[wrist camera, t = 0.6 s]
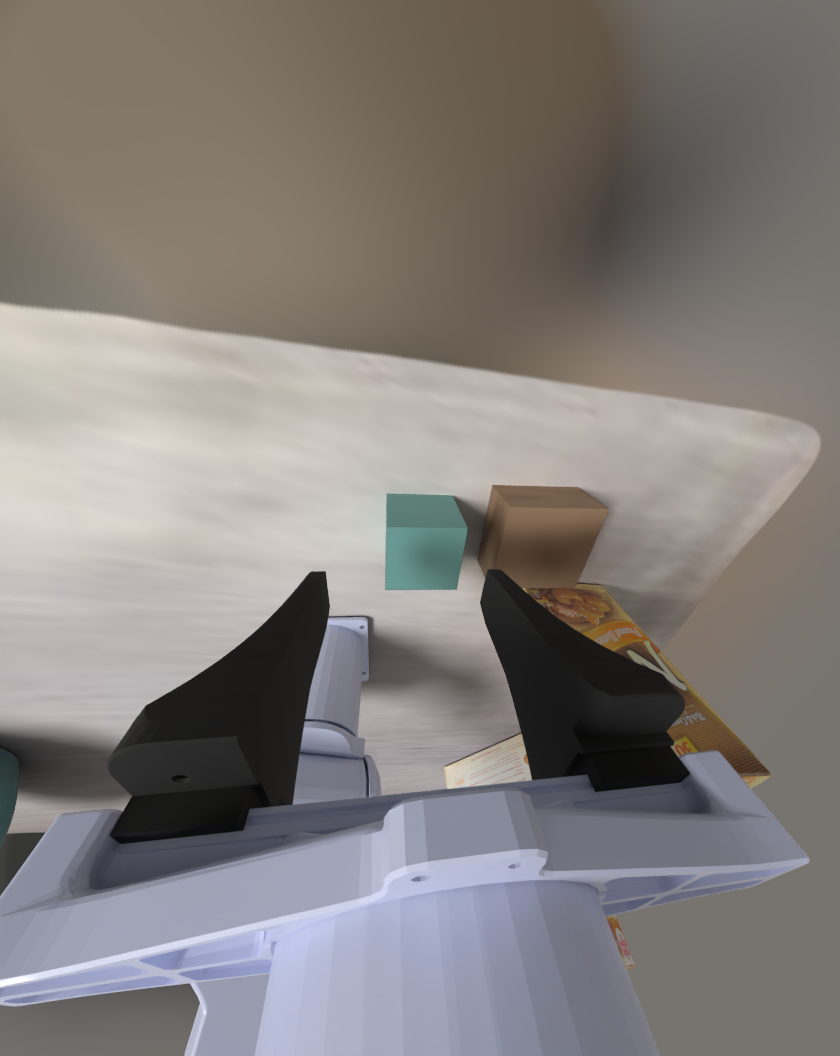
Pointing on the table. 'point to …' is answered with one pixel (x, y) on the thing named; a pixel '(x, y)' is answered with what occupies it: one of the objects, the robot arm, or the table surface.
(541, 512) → the block
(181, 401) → the table surface
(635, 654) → the candy box
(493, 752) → the coffeecake box
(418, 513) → the teal cube
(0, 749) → the green bowl
